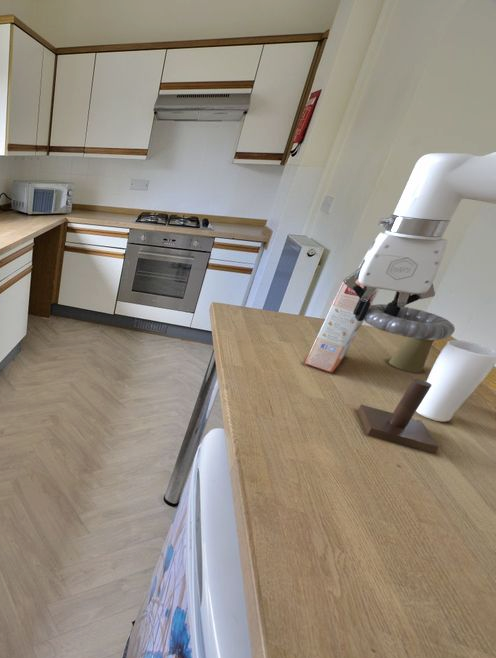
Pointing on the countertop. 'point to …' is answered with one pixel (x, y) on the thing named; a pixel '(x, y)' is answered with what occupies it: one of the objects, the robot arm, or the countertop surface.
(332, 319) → the cracker box
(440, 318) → the grey ridged ring
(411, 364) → the olive pawn shaped figure
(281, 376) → the countertop surface
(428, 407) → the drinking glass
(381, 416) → the post
